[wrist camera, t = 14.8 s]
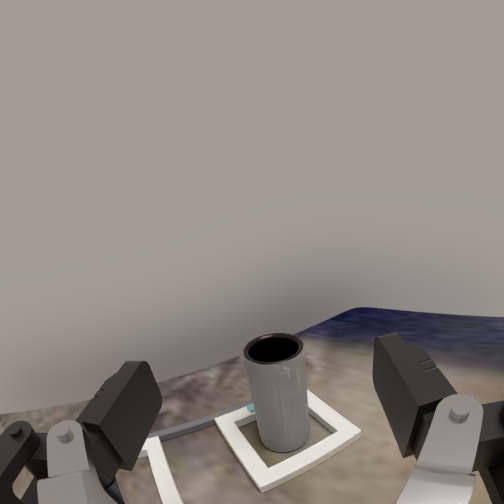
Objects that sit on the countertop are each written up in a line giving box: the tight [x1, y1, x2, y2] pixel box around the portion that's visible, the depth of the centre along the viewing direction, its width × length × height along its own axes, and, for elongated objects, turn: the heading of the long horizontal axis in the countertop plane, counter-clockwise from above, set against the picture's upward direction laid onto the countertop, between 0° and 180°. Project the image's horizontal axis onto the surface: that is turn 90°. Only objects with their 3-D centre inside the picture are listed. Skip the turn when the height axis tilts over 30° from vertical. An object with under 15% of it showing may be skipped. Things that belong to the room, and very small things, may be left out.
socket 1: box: [137, 436, 184, 504], centre depth 16 cm, size 10×10×1 cm
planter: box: [243, 333, 309, 452], centre depth 22 cm, size 4×4×10 cm
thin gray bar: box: [147, 400, 253, 441], centre depth 24 cm, size 16×1×1 cm, turn 116°
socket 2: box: [214, 390, 361, 493], centre depth 23 cm, size 10×10×1 cm
